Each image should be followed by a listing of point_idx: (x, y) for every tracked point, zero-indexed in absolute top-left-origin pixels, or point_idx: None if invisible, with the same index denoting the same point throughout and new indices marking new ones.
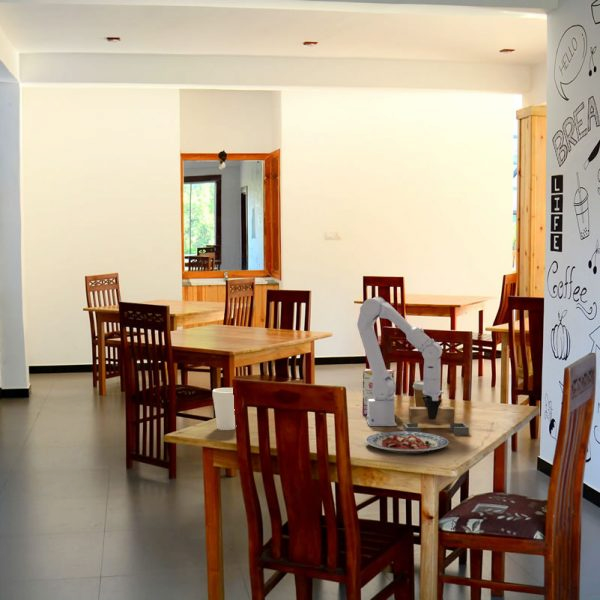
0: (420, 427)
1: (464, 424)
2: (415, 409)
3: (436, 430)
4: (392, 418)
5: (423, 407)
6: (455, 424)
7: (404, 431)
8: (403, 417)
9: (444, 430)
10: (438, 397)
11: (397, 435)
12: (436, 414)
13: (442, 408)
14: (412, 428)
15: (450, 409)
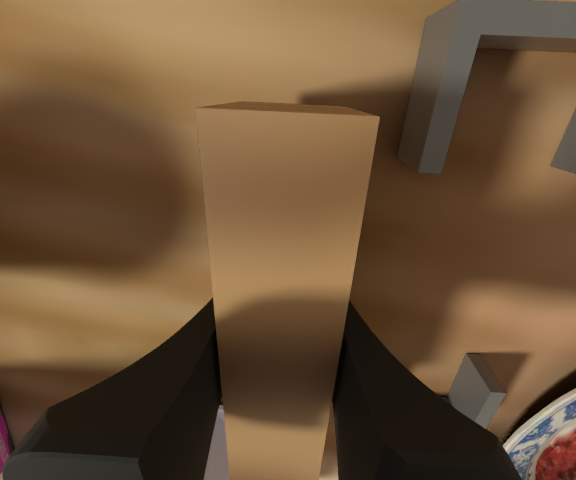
0: (497, 393)
1: (545, 20)
2: (317, 477)
3: (375, 251)
4: (222, 453)
5: (247, 429)
6: (450, 120)
7: (512, 449)
8: (5, 341)
9: (387, 199)
10: (149, 436)
11: (530, 462)
12: (359, 315)
13: (315, 284)
14: (485, 421)
15: (366, 184)
